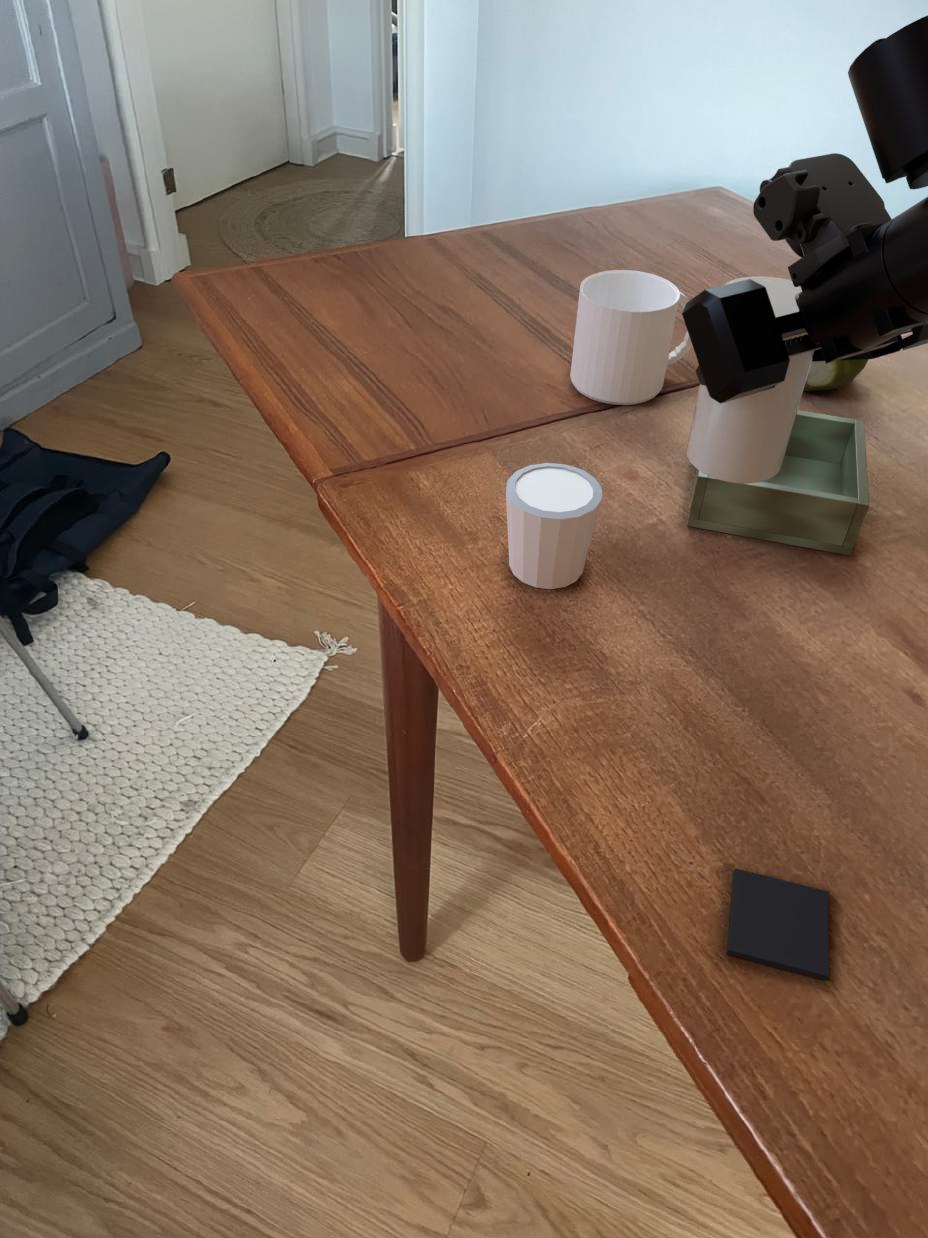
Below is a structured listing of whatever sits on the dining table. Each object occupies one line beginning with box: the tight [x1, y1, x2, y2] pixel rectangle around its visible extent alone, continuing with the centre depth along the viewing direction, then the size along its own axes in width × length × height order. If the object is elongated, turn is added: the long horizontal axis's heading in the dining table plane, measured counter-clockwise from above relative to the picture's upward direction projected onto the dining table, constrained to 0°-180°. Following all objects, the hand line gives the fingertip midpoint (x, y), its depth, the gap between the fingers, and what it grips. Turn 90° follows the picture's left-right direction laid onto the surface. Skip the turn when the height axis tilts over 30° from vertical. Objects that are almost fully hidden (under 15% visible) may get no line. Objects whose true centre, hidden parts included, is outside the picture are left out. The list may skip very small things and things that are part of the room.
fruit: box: [803, 359, 870, 392], centre depth 91 cm, size 9×9×8 cm
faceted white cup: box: [505, 462, 603, 590], centre depth 68 cm, size 7×7×7 cm
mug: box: [569, 269, 693, 406], centre depth 88 cm, size 12×9×9 cm
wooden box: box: [686, 409, 870, 556], centre depth 76 cm, size 13×13×5 cm
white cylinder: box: [686, 276, 815, 483], centre depth 64 cm, size 7×7×12 cm
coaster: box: [725, 867, 830, 981], centre depth 49 cm, size 5×5×1 cm
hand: (740, 365), depth 64 cm, fingers closed on white cylinder, 7 cm apart
